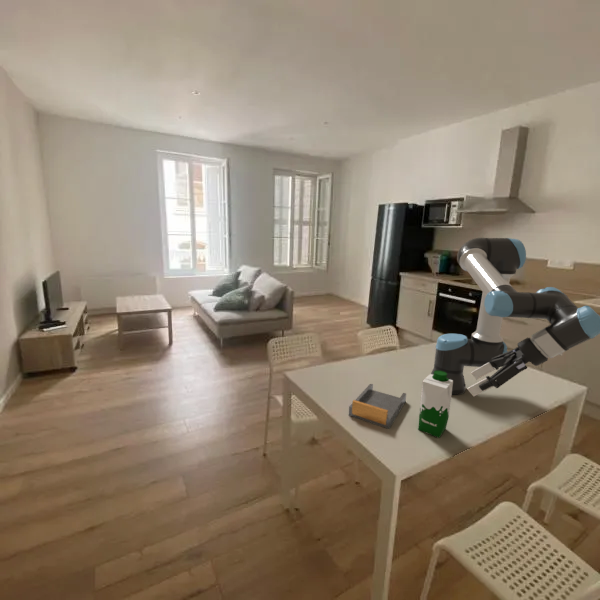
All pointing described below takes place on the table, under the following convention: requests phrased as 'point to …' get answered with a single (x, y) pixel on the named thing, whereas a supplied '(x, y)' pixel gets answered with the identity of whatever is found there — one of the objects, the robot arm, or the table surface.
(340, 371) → the table surface
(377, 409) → the rail channel
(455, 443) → the table surface
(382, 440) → the table surface
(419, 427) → the soya milk
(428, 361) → the table surface
